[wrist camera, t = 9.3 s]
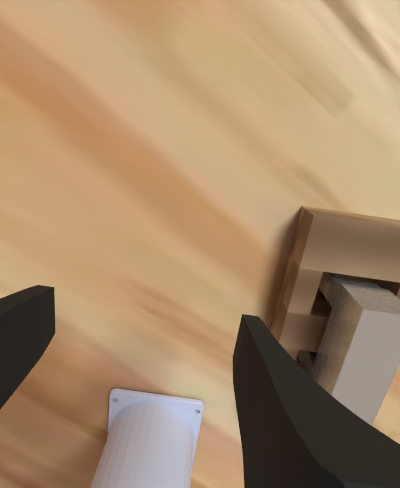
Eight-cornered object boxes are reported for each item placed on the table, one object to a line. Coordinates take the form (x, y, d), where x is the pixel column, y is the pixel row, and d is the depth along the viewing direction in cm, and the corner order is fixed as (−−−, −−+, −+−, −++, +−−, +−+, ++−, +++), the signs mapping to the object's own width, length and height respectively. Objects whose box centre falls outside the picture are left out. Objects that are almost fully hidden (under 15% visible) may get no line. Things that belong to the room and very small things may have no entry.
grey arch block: (333, 360, 24) (370, 429, 18) (295, 355, 24) (321, 422, 18) (365, 269, 21) (420, 317, 16) (323, 263, 21) (363, 309, 16)
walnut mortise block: (347, 404, 25) (361, 431, 23) (254, 391, 25) (258, 417, 23) (420, 223, 20) (448, 235, 18) (301, 206, 20) (313, 215, 18)
